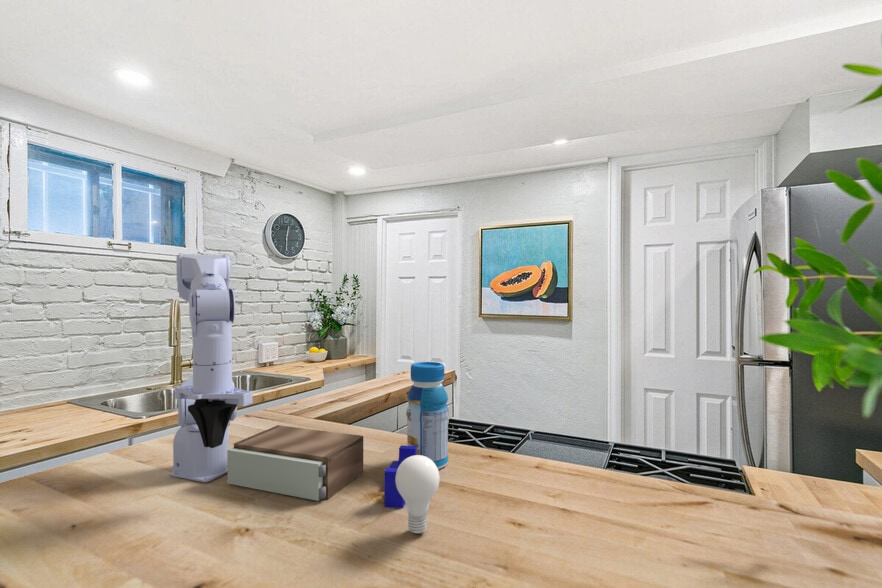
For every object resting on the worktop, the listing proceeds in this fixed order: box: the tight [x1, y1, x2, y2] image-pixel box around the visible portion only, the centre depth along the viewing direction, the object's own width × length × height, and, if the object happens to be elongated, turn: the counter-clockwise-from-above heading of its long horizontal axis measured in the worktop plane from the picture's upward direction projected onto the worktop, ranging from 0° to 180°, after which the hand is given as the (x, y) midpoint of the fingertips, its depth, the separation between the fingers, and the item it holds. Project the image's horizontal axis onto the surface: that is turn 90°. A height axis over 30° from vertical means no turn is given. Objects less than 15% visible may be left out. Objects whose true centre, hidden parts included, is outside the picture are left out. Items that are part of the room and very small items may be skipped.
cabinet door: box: [227, 447, 326, 502], centre depth 77 cm, size 20×1×6 cm, turn 70°
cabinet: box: [233, 424, 365, 500], centre depth 84 cm, size 20×12×7 cm, turn 70°
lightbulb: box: [395, 455, 441, 535], centre depth 65 cm, size 6×6×11 cm
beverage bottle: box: [405, 361, 450, 470], centre depth 90 cm, size 8×8×20 cm
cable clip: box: [384, 444, 417, 509], centre depth 78 cm, size 12×4×6 cm, turn 173°
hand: (213, 445), depth 74 cm, fingers closed
